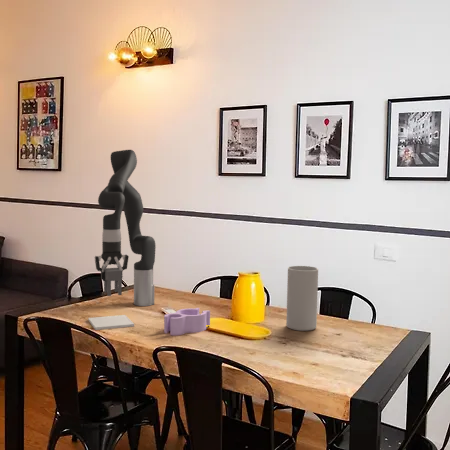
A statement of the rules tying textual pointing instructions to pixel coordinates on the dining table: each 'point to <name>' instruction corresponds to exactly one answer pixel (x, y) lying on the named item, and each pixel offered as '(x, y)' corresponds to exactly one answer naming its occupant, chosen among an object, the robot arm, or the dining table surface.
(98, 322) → the grey mat
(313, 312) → the cylinder vase
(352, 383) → the dining table surface
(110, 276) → the charcoal stool
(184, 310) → the clip
